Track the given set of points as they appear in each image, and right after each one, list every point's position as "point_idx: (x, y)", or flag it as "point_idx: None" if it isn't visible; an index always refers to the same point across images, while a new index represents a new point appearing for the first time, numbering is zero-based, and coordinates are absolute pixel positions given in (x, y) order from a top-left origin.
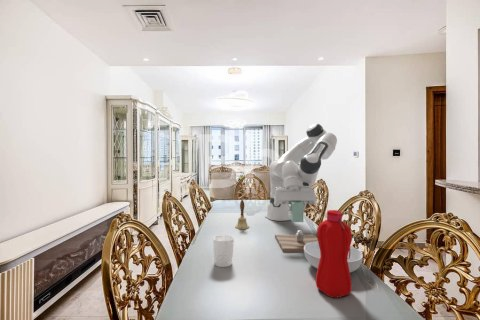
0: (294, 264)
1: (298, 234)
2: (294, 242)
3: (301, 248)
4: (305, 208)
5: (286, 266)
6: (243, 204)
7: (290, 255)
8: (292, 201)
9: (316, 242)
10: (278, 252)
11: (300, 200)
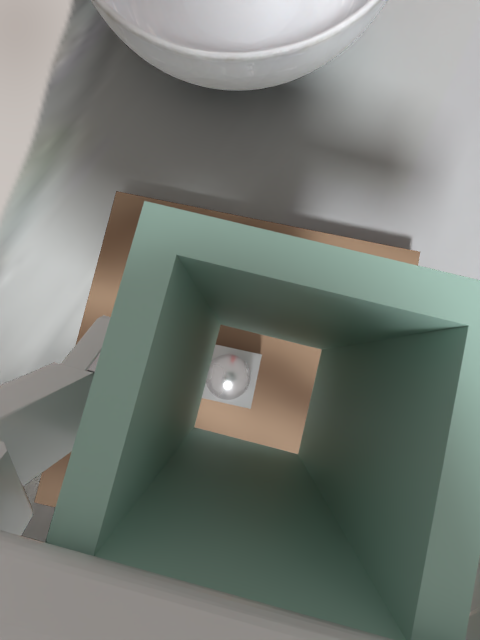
0: (413, 77)
1: (246, 362)
2: (285, 349)
3: (292, 226)
4: (95, 322)
5: (466, 63)
6: None
7: (383, 195)
8: (390, 632)
9: (252, 51)
10: (440, 256)
11: (65, 548)
